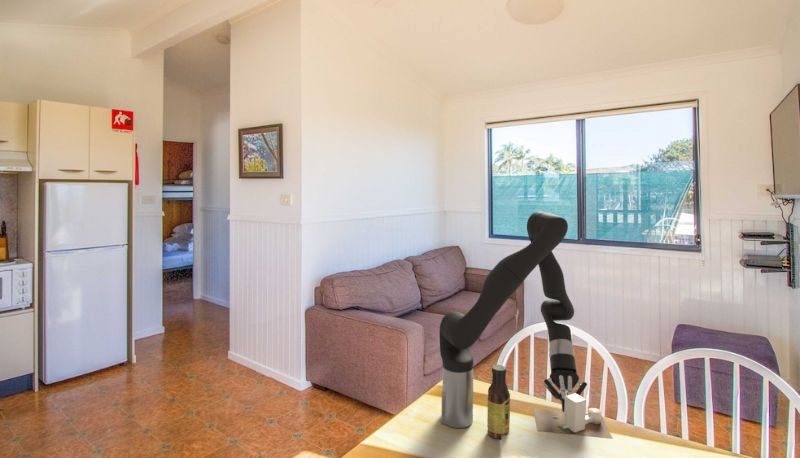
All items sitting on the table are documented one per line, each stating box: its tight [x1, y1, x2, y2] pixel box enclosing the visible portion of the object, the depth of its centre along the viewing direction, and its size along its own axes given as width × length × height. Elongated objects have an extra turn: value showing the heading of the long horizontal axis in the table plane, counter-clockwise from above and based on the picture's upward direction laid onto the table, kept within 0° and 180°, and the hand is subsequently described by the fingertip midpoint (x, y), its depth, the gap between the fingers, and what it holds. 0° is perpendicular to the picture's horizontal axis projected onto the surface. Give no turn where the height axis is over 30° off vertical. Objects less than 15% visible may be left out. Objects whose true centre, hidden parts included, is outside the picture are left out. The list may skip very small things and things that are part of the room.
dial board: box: [532, 408, 613, 440], centre depth 128 cm, size 20×12×2 cm, turn 79°
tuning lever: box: [563, 392, 602, 433], centre depth 126 cm, size 14×4×9 cm, turn 114°
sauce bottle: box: [486, 364, 511, 440], centre depth 124 cm, size 7×6×20 cm
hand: (568, 413), depth 127 cm, fingers closed
